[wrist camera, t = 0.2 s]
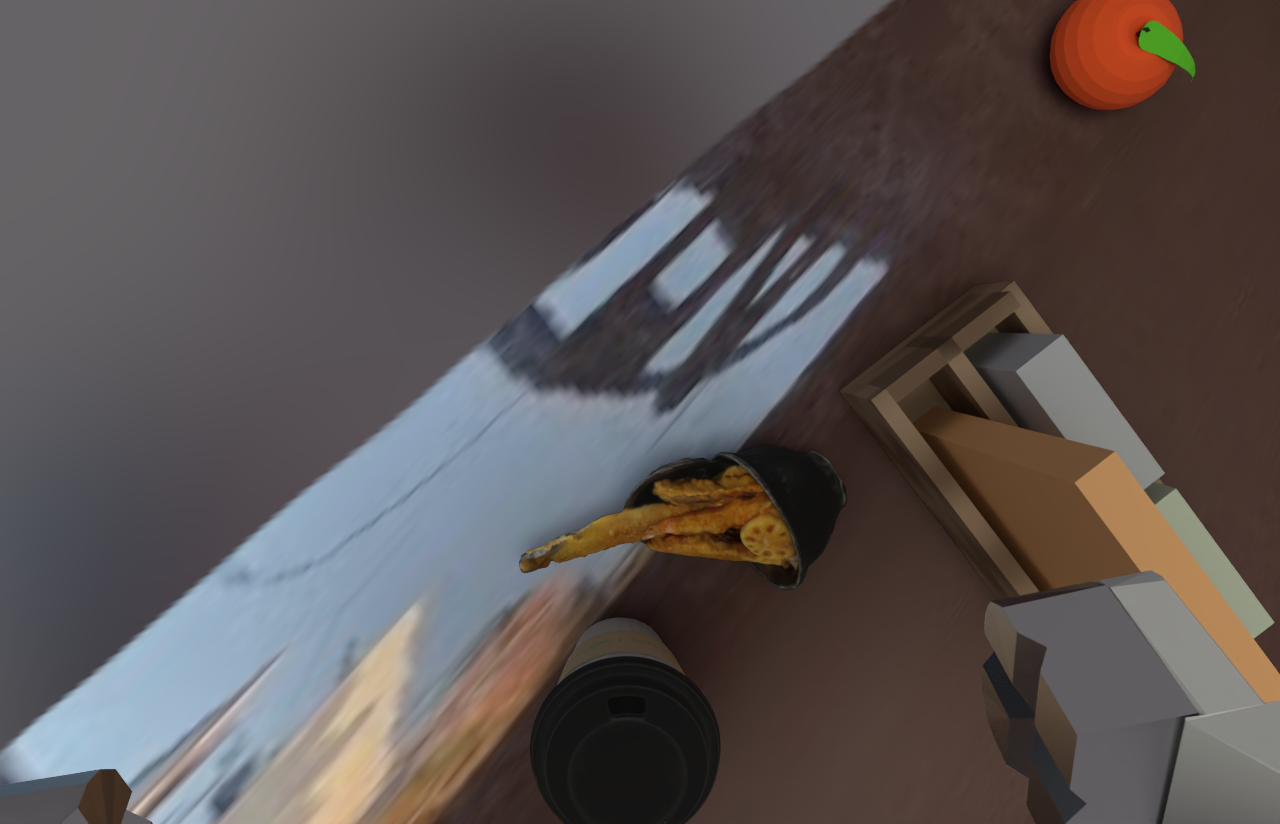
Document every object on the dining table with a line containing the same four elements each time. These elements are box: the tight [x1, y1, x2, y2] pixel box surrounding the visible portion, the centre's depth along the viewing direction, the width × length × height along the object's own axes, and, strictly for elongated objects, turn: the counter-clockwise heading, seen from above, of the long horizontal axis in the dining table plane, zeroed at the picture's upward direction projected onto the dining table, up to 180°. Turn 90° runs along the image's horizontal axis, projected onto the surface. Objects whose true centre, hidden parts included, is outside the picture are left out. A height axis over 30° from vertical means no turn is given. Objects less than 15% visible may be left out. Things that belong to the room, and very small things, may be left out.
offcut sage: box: [1144, 482, 1274, 639], centre depth 59 cm, size 9×3×10 cm, turn 38°
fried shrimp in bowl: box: [519, 446, 847, 590], centre depth 60 cm, size 9×11×18 cm
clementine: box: [1050, 0, 1195, 111], centre depth 60 cm, size 8×7×7 cm
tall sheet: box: [912, 407, 1280, 703], centre depth 53 cm, size 16×2×22 cm, turn 38°
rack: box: [839, 281, 1164, 600], centre depth 62 cm, size 24×10×8 cm, turn 38°
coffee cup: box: [530, 617, 720, 824], centre depth 58 cm, size 9×9×15 cm
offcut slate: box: [963, 333, 1165, 490], centre depth 58 cm, size 9×3×10 cm, turn 38°
